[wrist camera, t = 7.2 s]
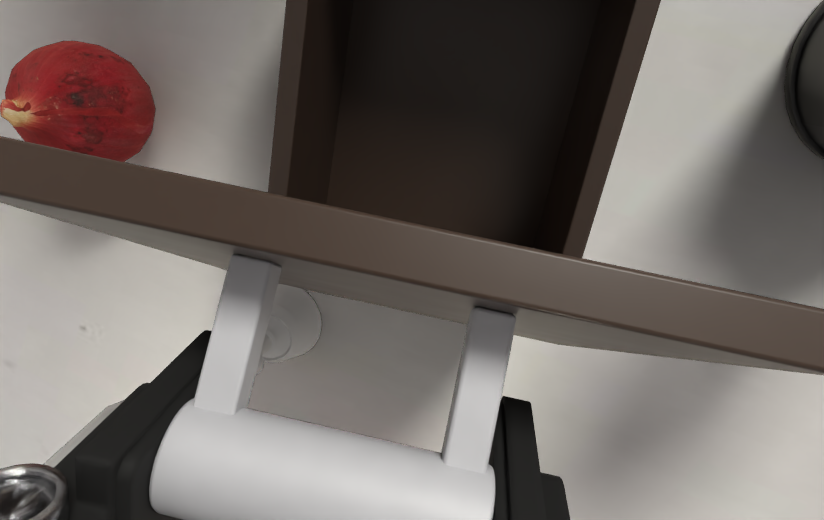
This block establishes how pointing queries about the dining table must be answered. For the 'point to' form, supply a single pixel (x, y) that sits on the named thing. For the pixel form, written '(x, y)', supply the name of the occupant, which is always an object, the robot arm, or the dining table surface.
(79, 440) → the chalice
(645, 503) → the dining table surface
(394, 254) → the wooden box lid
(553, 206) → the dark brown wooden crate
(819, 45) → the french press
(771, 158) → the dining table surface
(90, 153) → the red fruit
